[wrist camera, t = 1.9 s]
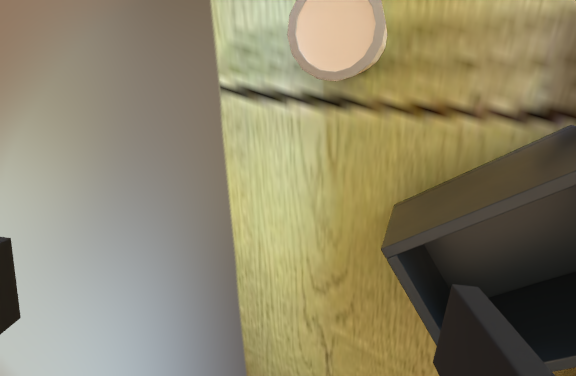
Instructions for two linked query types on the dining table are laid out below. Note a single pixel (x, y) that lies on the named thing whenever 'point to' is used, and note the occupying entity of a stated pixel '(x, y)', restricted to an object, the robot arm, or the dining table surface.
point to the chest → (498, 244)
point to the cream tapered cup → (337, 36)
